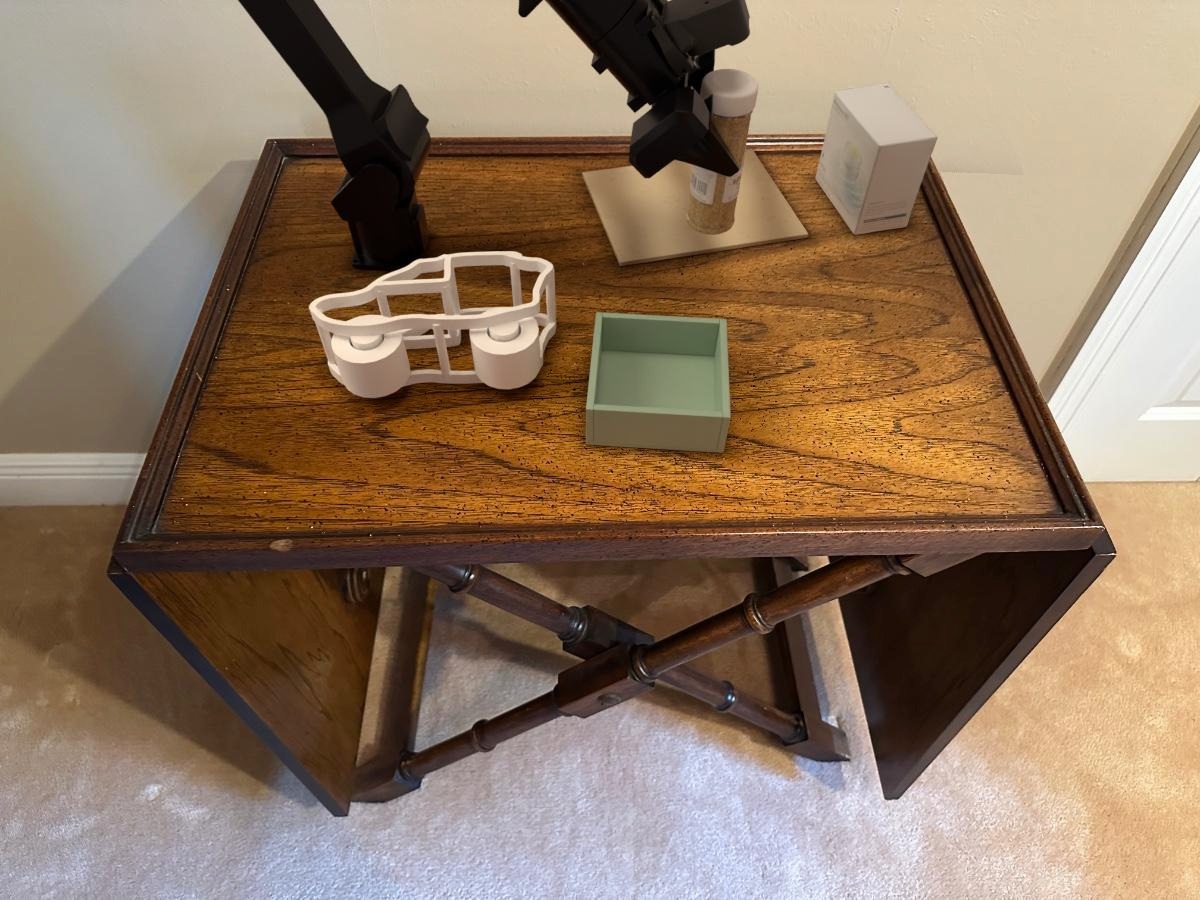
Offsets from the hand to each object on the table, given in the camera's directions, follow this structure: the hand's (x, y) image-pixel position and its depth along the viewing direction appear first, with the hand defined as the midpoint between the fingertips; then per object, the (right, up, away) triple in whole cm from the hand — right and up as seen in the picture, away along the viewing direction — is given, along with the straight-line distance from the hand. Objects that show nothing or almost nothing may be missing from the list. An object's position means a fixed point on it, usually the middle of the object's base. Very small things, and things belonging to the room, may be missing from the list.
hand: (735, 158), depth 71 cm
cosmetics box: (+16, +1, +18) cm, 24 cm away
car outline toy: (-25, -17, +2) cm, 31 cm away
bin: (-7, -21, 0) cm, 22 cm away
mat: (-2, +1, +17) cm, 17 cm away
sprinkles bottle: (-1, -4, +5) cm, 7 cm away
